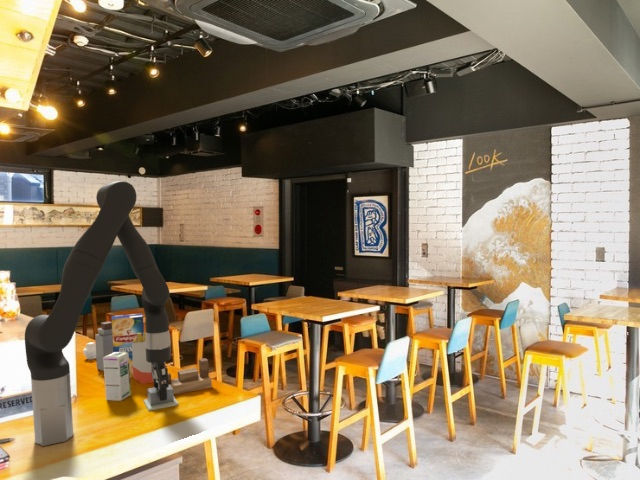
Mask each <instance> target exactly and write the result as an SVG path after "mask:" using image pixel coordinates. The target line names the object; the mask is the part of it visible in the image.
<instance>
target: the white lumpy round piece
mask: <svg viewBox="0 0 640 480" xmlns="http://www.w3.org/2000/svg"><path fill="white" fill-rule="evenodd" d="M82 354H83V355H84V357H85V358H86V360H95V359H96V342H95V341H93V342H91V341H90V342H88V343H86V345H85V347H84V348H83V350H82Z"/></svg>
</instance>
